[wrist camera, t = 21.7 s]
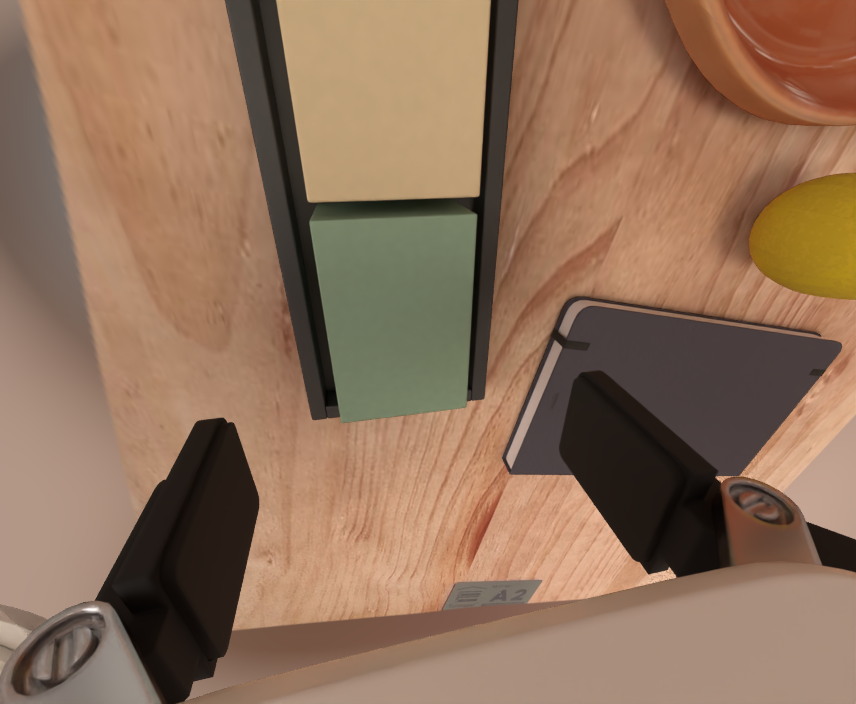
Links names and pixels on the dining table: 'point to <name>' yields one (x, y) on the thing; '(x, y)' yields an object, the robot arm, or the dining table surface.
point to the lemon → (810, 238)
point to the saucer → (776, 55)
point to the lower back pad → (396, 303)
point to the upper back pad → (387, 96)
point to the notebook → (671, 379)
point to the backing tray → (292, 212)
